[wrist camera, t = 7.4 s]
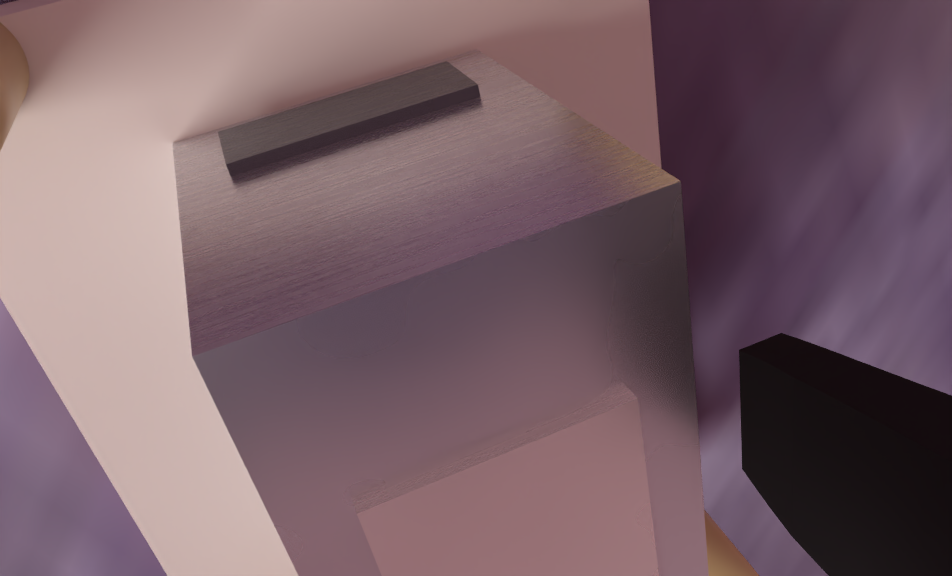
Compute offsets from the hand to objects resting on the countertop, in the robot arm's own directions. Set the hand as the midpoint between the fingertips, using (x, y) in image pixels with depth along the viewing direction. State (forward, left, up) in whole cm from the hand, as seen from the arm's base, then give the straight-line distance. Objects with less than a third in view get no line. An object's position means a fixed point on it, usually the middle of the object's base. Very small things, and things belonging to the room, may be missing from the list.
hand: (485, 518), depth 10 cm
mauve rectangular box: (0, 0, -4) cm, 4 cm away
